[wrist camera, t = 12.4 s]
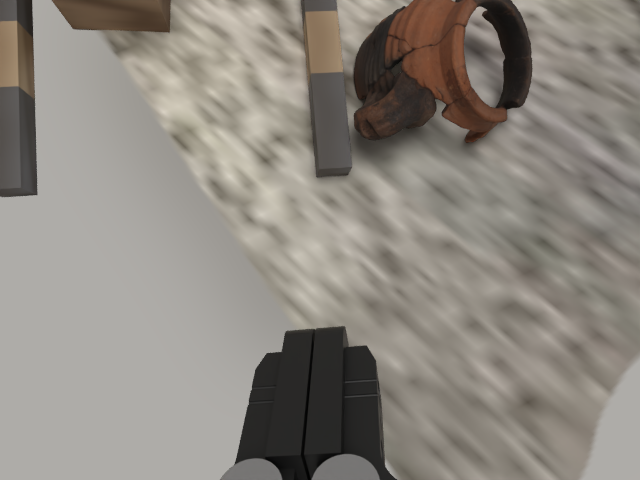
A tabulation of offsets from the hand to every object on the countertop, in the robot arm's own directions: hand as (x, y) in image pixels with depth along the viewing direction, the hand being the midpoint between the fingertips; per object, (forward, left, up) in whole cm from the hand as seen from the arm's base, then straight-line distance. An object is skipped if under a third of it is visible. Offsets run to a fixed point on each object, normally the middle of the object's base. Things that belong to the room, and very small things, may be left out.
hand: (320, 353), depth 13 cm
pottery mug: (-9, -14, -19) cm, 25 cm away
